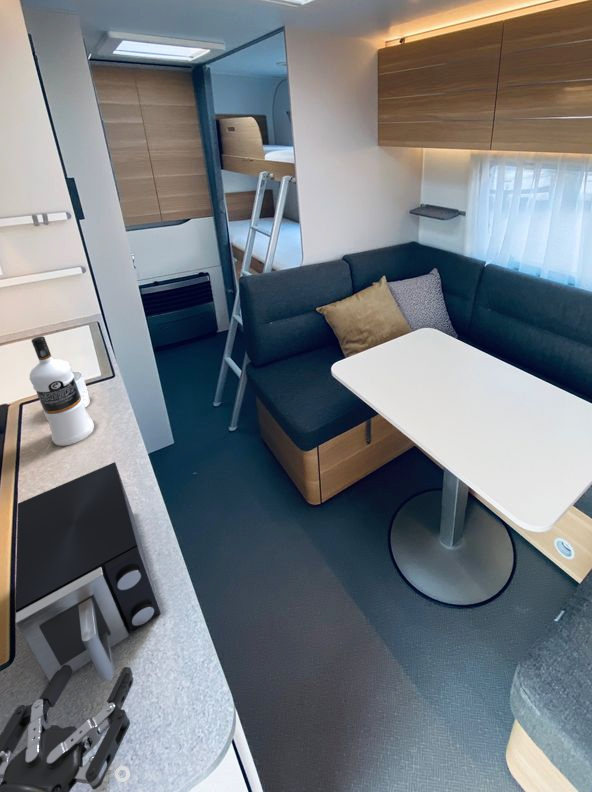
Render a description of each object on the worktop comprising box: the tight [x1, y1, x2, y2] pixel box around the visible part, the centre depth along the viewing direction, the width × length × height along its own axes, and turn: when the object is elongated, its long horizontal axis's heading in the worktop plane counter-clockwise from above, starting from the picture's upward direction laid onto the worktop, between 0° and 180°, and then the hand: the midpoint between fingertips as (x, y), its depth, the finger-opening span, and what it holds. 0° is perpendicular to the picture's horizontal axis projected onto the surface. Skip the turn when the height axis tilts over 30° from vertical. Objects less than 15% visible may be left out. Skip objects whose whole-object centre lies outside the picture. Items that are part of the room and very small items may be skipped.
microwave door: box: [15, 567, 129, 683], centre depth 59 cm, size 8×10×16 cm
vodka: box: [29, 335, 95, 447], centre depth 105 cm, size 9×9×30 cm
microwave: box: [14, 461, 162, 633], centre depth 70 cm, size 24×15×16 cm, turn 38°
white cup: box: [72, 371, 91, 408], centre depth 120 cm, size 8×8×10 cm
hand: (98, 668), depth 56 cm, fingers open, 8 cm apart
